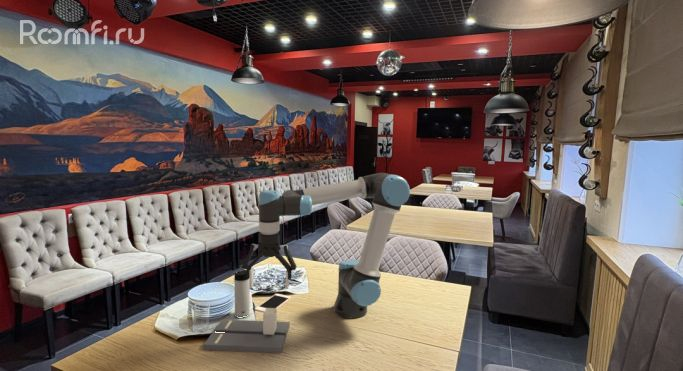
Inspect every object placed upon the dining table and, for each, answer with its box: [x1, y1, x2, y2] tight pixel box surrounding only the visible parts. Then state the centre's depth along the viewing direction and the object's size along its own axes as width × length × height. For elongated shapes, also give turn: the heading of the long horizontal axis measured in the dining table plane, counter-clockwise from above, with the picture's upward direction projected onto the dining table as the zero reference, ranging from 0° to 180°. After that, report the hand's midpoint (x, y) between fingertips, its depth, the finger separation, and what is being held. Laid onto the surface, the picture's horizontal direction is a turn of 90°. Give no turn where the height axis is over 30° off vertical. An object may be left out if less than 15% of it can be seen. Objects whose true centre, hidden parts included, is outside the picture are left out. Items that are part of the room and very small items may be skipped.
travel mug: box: [233, 269, 251, 317], centre depth 149 cm, size 6×7×20 cm
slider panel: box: [203, 318, 291, 354], centre depth 133 cm, size 28×18×2 cm, turn 88°
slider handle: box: [262, 308, 278, 335], centre depth 133 cm, size 4×5×10 cm
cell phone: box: [254, 293, 292, 313], centre depth 162 cm, size 9×18×1 cm, turn 158°
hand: (269, 286), depth 131 cm, fingers open, 13 cm apart
